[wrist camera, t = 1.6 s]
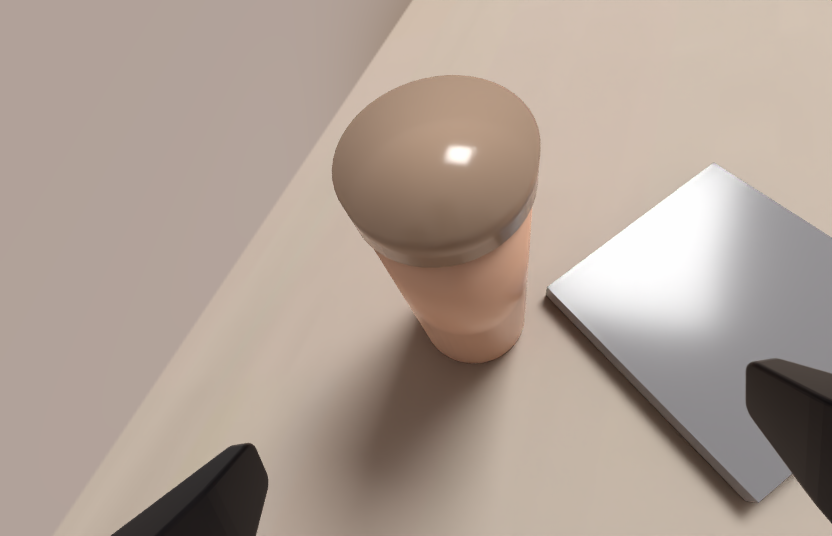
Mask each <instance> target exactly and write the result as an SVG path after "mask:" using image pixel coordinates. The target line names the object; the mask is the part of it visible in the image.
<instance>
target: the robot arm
mask: <svg viewBox="0 0 832 536" xmlns="http://www.w3.org/2000/svg"><path fill="white" fill-rule="evenodd" d="M745 402H746V407H747V410H748V413H749V415H750V417H751V418H752V420H753V421H754V422H755V424H756V425H757V426H758V428H759V429H760V431H761V432H762V433H763V435H764V436H765V437H766V439H767V440H768V441H769V443H770V444H771V445H772V447H773V448H774V449H775V451H776V452H777V454H778V455H779V456H780V458H781V459H782V460H783V462H784V463H785V464H786V466H787V467H788V468H789V470H790V471H791V473H792V474H793V475H794V477H795V478H796V479H797V481H798V482H799V483H800V485H801V486H802V487H803V489H804V490H805V491H806V493H807V494H808V495H809V497H810V498H811V499H812V500H813V502H814V503H815V504H816V506H817V507H818V508H819V509H820V510H821V511H822V513H823V514H824V515H825V516H826V517H827V519H828V520H829V521H830V522H831V523H832V373H829V372H825V371H822V370H818V369H815V368H811V367H808V366H804V365H801V364H797V363H794V362H790V361H787V360H783V359H779V358H770V359H763V360H757V361H752V362H750V363H749V364H748V365H747V367H746V371H745ZM267 490H268V476H267V473H266V470H265V468H264V466H263V463H262V461H261V459H260V457H259V454H258V452H257V450H256V448H255V446H254V445H253V444H251V443H244V444H238V445H232V446H230V447H228V448H227V449H225V450H224V451H223V452H221V453H220V454H219V455H217V456H216V457H215V458H213V459H212V460H211V461H209V462H208V463H207V464H205V465H204V466H203V467H201V468H200V469H199V470H197V471H196V472H195V473H193V474H192V475H191V476H190V477H188V478H187V479H186V480H184V481H183V482H182V483H180V484H179V485H178V486H176V487H175V488H174V489H172V490H171V491H170V492H168V493H167V494H166V495H164V496H163V497H162V498H160V499H159V500H158V501H156V502H155V503H154V504H152V505H151V506H150V507H148V508H147V509H146V510H144V511H143V512H142V513H140V514H139V515H138V516H136V517H135V518H134V519H132V520H131V521H130V522H128V523H127V524H126V525H124V526H123V527H122V528H120V529H119V530H118V531H116V532H115V533H114V534H112V535H111V536H256V533H257V529H258V525H259V521H260V517H261V514H262V510H263V506H264V502H265V498H266V494H267Z"/></svg>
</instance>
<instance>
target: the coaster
mask: <svg viewBox="0 0 832 536" xmlns="http://www.w3.org/2000/svg"><path fill="white" fill-rule="evenodd" d="M546 296H547V297H548V298H549V299H550V300H551V301H552V302H553V303H554V304H555V305H556V306H557V307H558V308H559V309H560V310H561V311H562V312H563V313H564V314H565V315H566V316H567V317H568V318H569V319H570V320H571V321H572V322H573V324H574V325H575V326H576V327H577V328H578V329H579V330H580V331H581V332H582V333H583V334H584V335H585V336H586V337H587V338H588V339H589V340H590V341H591V342H592V343H593V344H594V345H595V346H596V347H597V348H598V349H599V350H600V351H601V352H602V353H603V355H604V356H605V357H606V358H607V359H608V360H609V361H610V362H611V363H612V364H613V365H614V366H615V367H616V368H617V369H618V370H619V371H620V372H621V373H622V374H623V375H624V376H625V377H626V378H627V379H628V380H629V381H630V382H631V383H632V384H633V386H634V387H635V388H636V389H637V390H638V391H639V392H640V393H641V394H642V395H643V396H644V397H645V398H646V399H647V400H648V401H649V402H650V403H651V404H652V405H653V406H654V407H655V408H656V409H657V410H658V411H659V412H660V413H661V414H662V415H663V417H664V418H665V419H666V420H667V421H668V422H669V423H670V424H671V425H672V426H673V427H674V428H675V429H676V430H677V431H678V432H679V433H680V434H681V435H682V436H683V437H684V438H685V439H686V440H687V441H688V442H689V443H690V444H691V445H692V446H693V448H694V449H695V450H696V451H697V452H698V453H699V454H700V455H701V456H702V457H703V458H704V459H705V460H706V461H707V462H708V463H709V464H710V465H711V466H712V467H713V468H714V469H715V470H716V471H717V472H718V473H719V474H720V475H721V476H722V477H723V479H724V480H725V481H726V482H727V483H728V484H729V485H730V486H731V487H732V488H733V489H734V490H735V491H736V492H737V493H738V494H739V495H740V496H741V497H742V498H743V499H744V500H745V501H750V502H758V503H759V502H760V501H761V500H762V499H763V498H764V497H766V496H767V495H768V494H769V493H770V492H771V491H773V490H774V489H775V488H776V487H777V486H778V485H779V484H781V483H782V482H783V481H784V480H785V479H786V478H788V477H789V476H790V475H791V474H792V473H791V471H790V470H789V468H788V467H787V466H786V464H785V463H784V462H783V460H782V459H781V458H780V456H779V455H778V454H777V452H776V451H775V449H774V448H773V447H772V445H771V444H770V443H769V441H768V440H767V439H766V437H765V436H764V435H763V433H762V432H761V431H760V429H759V428H758V426H757V425H756V424H755V422H754V421H753V420H752V418H751V417H750V415H749V413H748V410H747V407H746V402H745V371H746V367H747V365H748V364H749V363H750V362H752V361H757V360H763V359H770V358H779V359H783V360H787V361H790V362H794V363H797V364H801V365H804V366H808V367H811V368H815V369H818V370H822V371H825V372H829V373H832V238H831V237H830V236H828V235H827V234H825V233H824V232H822V231H820V230H819V229H817V228H816V227H814V226H813V225H811V224H810V223H808V222H806V221H805V220H803V219H802V218H800V217H799V216H797V215H795V214H794V213H792V212H791V211H789V210H788V209H786V208H784V207H783V206H781V205H780V204H778V203H777V202H775V201H774V200H772V199H770V198H769V197H767V196H766V195H764V194H763V193H761V192H759V191H758V190H756V189H755V188H753V187H752V186H750V185H748V184H747V183H745V182H744V181H742V180H741V179H739V178H738V177H736V176H734V175H733V174H731V173H730V172H728V171H727V170H725V169H723V168H722V167H720V166H719V165H717V164H716V163H712V164H711V165H710V166H708V167H707V168H706V169H704V170H703V171H702V172H700V173H699V174H698V175H696V176H695V177H694V178H692V179H691V180H690V181H688V182H687V183H686V184H684V185H683V186H682V187H680V188H679V189H678V190H676V191H675V192H674V193H672V194H671V195H670V196H668V197H667V198H666V199H664V200H663V201H661V202H660V203H659V204H657V205H656V206H655V207H653V208H652V209H651V210H649V211H648V212H647V213H645V214H644V215H643V216H641V217H640V218H639V219H637V220H636V221H635V222H633V223H632V224H631V225H629V226H628V227H627V228H625V229H624V230H623V231H621V232H620V233H619V234H617V235H616V236H615V237H613V238H612V239H611V240H609V241H608V242H607V243H605V244H604V245H603V246H601V247H600V248H599V249H597V250H596V251H595V252H593V253H592V254H591V255H589V256H588V257H587V258H585V259H584V260H583V261H581V262H580V263H579V264H577V265H576V266H575V267H573V268H572V269H571V270H569V271H568V272H567V273H565V274H564V275H563V276H561V277H560V278H559V279H557V280H556V281H555V282H553V283H552V284H551V285H549V286H548V287H547V290H546Z"/></svg>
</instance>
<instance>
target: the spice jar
mask: <svg viewBox="0 0 832 536" xmlns="http://www.w3.org/2000/svg"><path fill="white" fill-rule="evenodd" d="M539 160H540V135H539V129H538V126H537V123H536V121H535V118H534V116H533V115H532V113H531V111H530V110H529V108H528V107H527V106H526V105H525V103H524V102H523V101H522V100H521V99H520V98H519V97H517V96H516V95H515V94H514V93H512V92H511V91H509V90H508V89H506V88H505V87H503V86H500V85H498V84H496V83H494V82H491V81H488V80H485V79H481V78H476V77H471V76H461V75H446V76H435V77H430V78H425V79H420V80H417V81H413V82H410V83H407V84H405V85H402V86H399V87H397V88H395V89H393V90H391V91H389V92H387V93H386V94H384V95H382V96H380V97H379V98H377V99H376V100H375V101H373V102H372V103H370V104H369V105H368V106H367V107H366V108H364V109H363V110H362V111H361V112H360V113H359V114H358V115H357V116H356V117H355V118H354V119H353V121H352V122H351V123H350V124H349V126H348V127H347V128H346V130H345V132H344V133H343V135H342V137H341V139H340V141H339V143H338V145H337V148H336V151H335V154H334V158H333V165H332V180H333V185H334V189H335V192H336V195H337V197H338V200H339V201H340V203H341V204H342V206H343V208H344V209H345V211H346V212H347V214H348V216H349V217H350V219H351V220H352V222H353V223H354V225H355V226H356V228H357V230H358V231H359V233H360V234H361V236H362V237H363V238H364V240H365V241H366V242H367V243H368V244H369V245H370V246H371V247H372V248H374V250H375V252H376V253H377V255H378V256H379V258H380V260H381V261H382V263H383V264H384V266H385V268H386V269H387V271H388V272H389V274H390V276H391V277H392V279H393V280H394V282H395V284H396V285H397V287H398V288H399V290H400V292H401V293H402V295H403V296H404V298H405V300H406V301H407V303H408V304H409V306H410V308H411V309H412V311H413V312H414V314H415V316H416V317H417V319H418V320H419V322H420V324H421V325H422V327H423V329H424V330H425V332H426V333H427V335H428V337H429V338H430V340H431V341H432V343H433V344H434V345H435V347H436V348H437V349H438V350H439V351H441V352H442V353H443V354H445V355H446V356H448V357H449V358H451V359H454V360H456V361H459V362H464V363H483V362H488V361H491V360H494V359H496V358H498V357H500V356H502V355H503V354H505V353H506V352H507V351H508V350H510V349H511V348H512V346H513V345H514V344H515V343H516V341H517V340H518V338H519V336H520V334H521V332H522V329H523V326H524V320H525V306H526V291H527V276H528V261H529V247H530V232H531V217H532V206H533V203H534V200H535V197H536V191H537V185H538V173H539Z"/></svg>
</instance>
